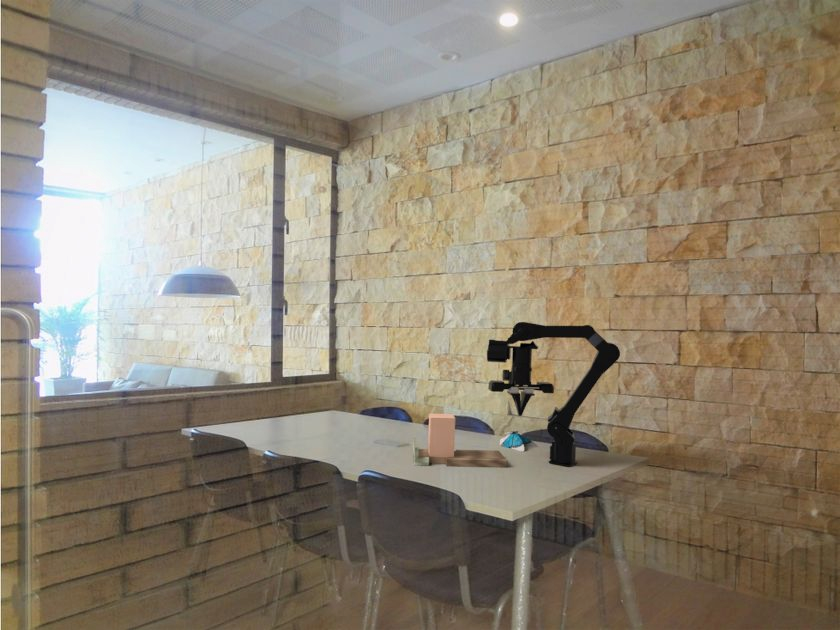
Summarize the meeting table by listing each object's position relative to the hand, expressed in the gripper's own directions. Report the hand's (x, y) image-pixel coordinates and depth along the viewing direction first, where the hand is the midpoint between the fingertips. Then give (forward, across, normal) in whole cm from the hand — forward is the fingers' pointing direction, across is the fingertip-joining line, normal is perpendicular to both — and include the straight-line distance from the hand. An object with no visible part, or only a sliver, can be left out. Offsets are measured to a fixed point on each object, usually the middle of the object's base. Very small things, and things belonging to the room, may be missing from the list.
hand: (519, 415), depth 173 cm
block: (+11, +24, +4) cm, 26 cm away
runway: (+13, +19, +4) cm, 23 cm away
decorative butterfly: (+14, -3, -17) cm, 22 cm away
